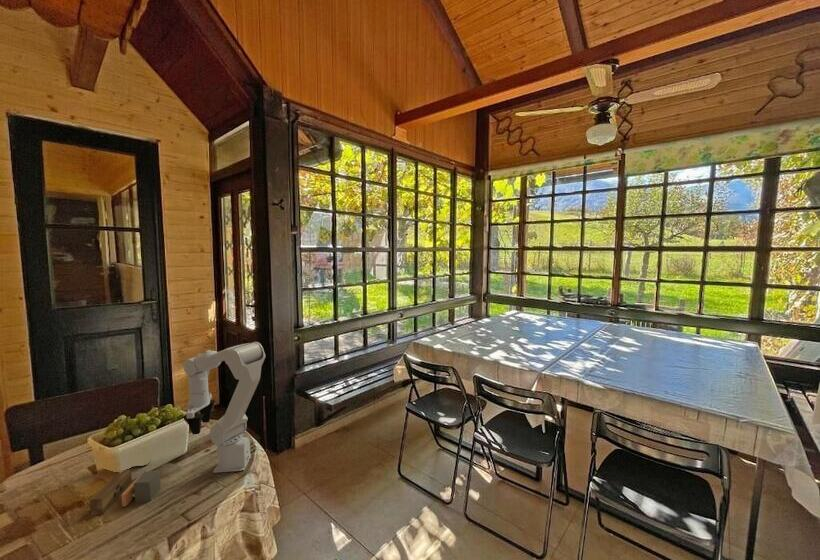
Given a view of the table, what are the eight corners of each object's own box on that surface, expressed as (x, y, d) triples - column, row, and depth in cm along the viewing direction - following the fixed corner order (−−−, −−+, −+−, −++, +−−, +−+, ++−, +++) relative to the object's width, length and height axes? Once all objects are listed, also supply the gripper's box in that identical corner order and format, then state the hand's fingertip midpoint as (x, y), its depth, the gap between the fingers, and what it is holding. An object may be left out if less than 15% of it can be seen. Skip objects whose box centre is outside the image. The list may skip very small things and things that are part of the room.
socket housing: (132, 483, 108) (131, 469, 107) (104, 513, 96) (102, 498, 95) (121, 484, 107) (120, 470, 107) (91, 514, 95) (89, 499, 95)
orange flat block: (143, 486, 106) (142, 475, 106) (126, 506, 98) (125, 494, 98) (140, 486, 106) (139, 475, 106) (122, 506, 98) (121, 494, 98)
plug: (160, 489, 105) (159, 470, 105) (150, 501, 100) (149, 482, 100) (140, 490, 105) (139, 472, 104) (129, 503, 100) (128, 483, 99)
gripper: (196, 382, 127) (198, 417, 129) (175, 400, 113) (178, 440, 114) (216, 381, 128) (218, 416, 130) (198, 399, 114) (201, 438, 115)
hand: (201, 427), depth 122 cm, fingers open, 7 cm apart
